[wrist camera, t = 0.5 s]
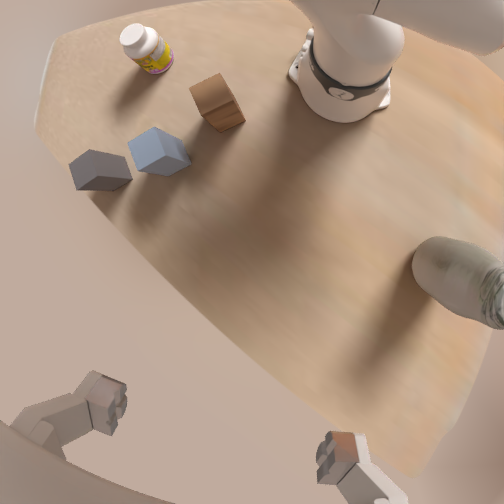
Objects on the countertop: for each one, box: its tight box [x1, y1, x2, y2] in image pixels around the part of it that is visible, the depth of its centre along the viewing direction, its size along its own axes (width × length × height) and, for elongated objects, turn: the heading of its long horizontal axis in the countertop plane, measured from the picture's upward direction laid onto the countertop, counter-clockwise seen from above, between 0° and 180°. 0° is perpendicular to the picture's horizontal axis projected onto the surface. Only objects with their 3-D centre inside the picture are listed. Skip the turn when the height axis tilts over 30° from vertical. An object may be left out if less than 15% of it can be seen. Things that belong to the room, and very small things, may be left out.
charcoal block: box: [69, 149, 132, 191], centre depth 50 cm, size 5×5×12 cm
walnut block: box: [189, 73, 246, 133], centre depth 46 cm, size 5×5×12 cm
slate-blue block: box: [128, 127, 191, 176], centre depth 49 cm, size 5×5×12 cm
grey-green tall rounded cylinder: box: [412, 236, 504, 330], centre depth 37 cm, size 10×10×28 cm
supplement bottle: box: [120, 23, 174, 74], centre depth 45 cm, size 7×7×13 cm
